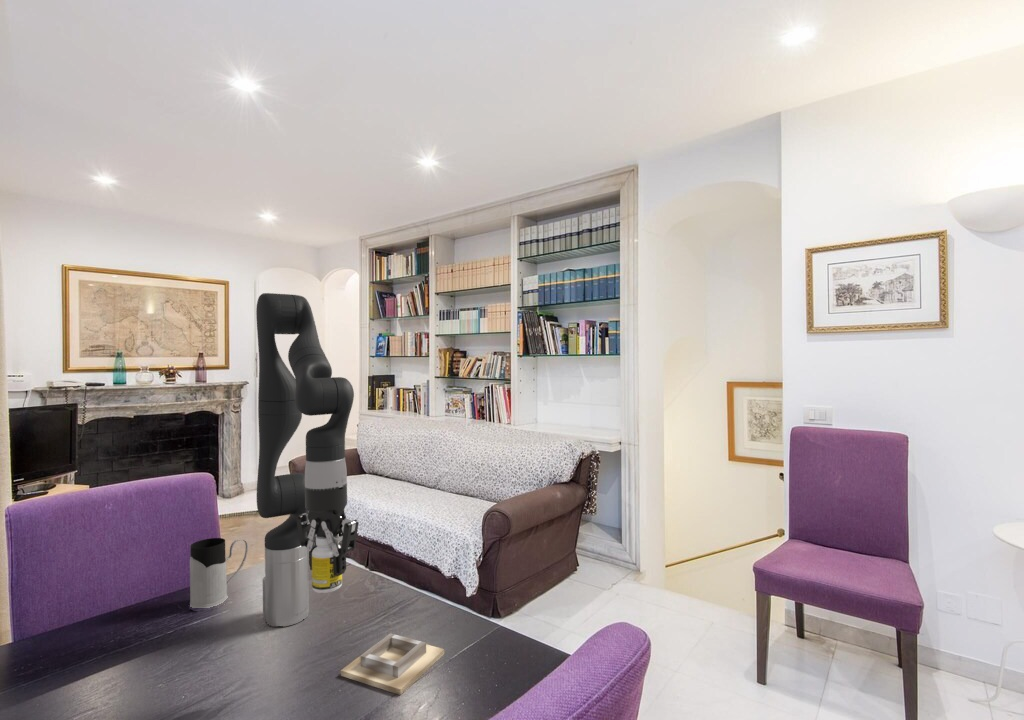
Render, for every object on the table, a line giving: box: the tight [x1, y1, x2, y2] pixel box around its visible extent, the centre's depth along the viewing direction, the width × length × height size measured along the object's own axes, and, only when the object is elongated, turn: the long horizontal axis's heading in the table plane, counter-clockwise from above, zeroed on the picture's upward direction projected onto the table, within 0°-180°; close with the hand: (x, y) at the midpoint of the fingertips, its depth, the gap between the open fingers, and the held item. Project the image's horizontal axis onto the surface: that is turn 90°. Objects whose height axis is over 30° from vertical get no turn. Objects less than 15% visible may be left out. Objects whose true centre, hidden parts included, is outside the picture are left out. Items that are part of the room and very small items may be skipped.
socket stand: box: [340, 633, 445, 696], centre depth 100 cm, size 14×14×3 cm
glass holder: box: [189, 537, 249, 608], centre depth 130 cm, size 9×14×15 cm, turn 145°
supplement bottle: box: [311, 534, 343, 594], centre depth 97 cm, size 5×5×10 cm
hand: (327, 571), depth 97 cm, fingers closed on supplement bottle, 5 cm apart
